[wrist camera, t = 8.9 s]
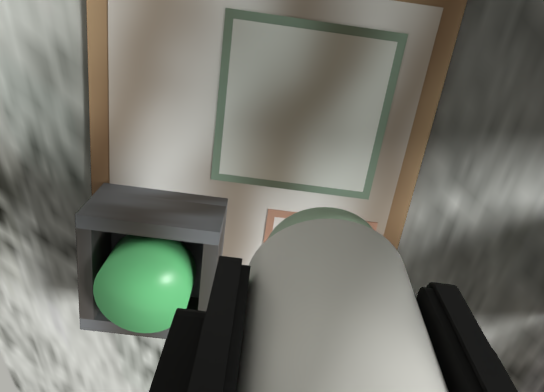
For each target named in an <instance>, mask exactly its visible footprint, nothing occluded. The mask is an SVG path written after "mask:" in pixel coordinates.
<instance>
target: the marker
mask: <svg viewBox="0 0 544 392" xmlns="http://www.w3.org/2000/svg"><path fill="white" fill-rule="evenodd" d="M249 266H251V268H250V276H249V285H248V293H247V302H246V310H245V319H244V327H243V336H242V345H241V353H240V362H239V370H238V379H237V387H236V392H449V391H448V389H447V386H446V383H445V380H444V377H443V374H442V371H441V368H440V366H439V363H438V360H437V357H436V354H435V351H434V348H433V346H432V343H431V340H430V337H429V334H428V331H427V328H426V325H425V323H424V320H423V317H422V314H421V311H420V308H419V305H418V303H417V300H416V297H415V294H414V291H413V288H412V285H411V282H410V280H409V277H408V274H407V271H406V268H405V265H404V263H403V260H402V258H401V256H400V254H399V253H398V251H397V250H396V248H395V247H394V246H393V245H392V244H391V242H390V241H389V240H387V239H386V238H385V237H384V236H383V235H381V234H380V233H378V232H377V231H375V230H374V229H373V228H372V227H371V226H370V225H369V224H368V223H367V222H366V221H365V220H364V219H362V218H361V217H359V216H357V215H356V214H354V213H351V212H349V211H346V210H343V209H338V208H332V207H316V208H310V209H306V210H302V211H299V212H297V213H294V214H292V215H291V216H289V217H287V218H286V219H284V220H283V221H281V222H280V223H279V224H278V225H277V226H276V227H275V228H274V230H273V231H272V232H271V234H270V235H269V237H268V239H267V240H266V241H265V242H264V243H263V244H262V245H261V246H260V247H259V249H258V250H257V251H256V252H255V254H254V256H253V257H252V259H251V261H250V263H249Z"/></svg>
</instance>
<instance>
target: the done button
mask: <svg viewBox="0 0 544 392" xmlns="http://www.w3.org/2000/svg"><path fill="white" fill-rule="evenodd" d="M195 277H196V263H195V260H194V257H193V255H192V253H191V252H190V250H189V249H188V248H187V246H186V245H185V244H184V243H182V242H181V241H177V240H169V239H161V238H152V237H144V236H136V235H126V236H125V237H123V238H122V239H121V240H120V241H119V242H118V243H117V244H116V245H115V247H114V249H113V250H112V252H111V253H110V255H109V256H108V258H107V260H106V261H105V263H104V264H103V266H102V267H101V269H100V271H99V272H98V274H97V275H96V278H95V280H94V285H93V294H94V298H95V302H96V304H97V306H98V308H99V309H100V311H101V312H102V313H103V315H104V316H105V317H106V318H107V319H109V320H110V321H111V322H112V323H114V324H115V325H117V326H119V327H121V328H123V329H126V330H129V331H132V332H137V333H155V332H160V331H163V330H166V329H168V328H170V326H171V323H172V320H173V317H174V314H175V312H176V309H177V308H183V309H186V308H187V305H188V301H189V298H190V295H191V291H192V288H193V284H194V281H195Z"/></svg>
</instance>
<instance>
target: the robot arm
mask: <svg viewBox="0 0 544 392" xmlns="http://www.w3.org/2000/svg"><path fill="white" fill-rule="evenodd" d="M250 268H251V266H249V265H242V258H235V257H227V256H219V259H218V264H217V268H216V272H215V276H214V281H213V285H212V289H211V293H210V298H209V302H208V306H207V310H206V311H199V310H191V309H183V308H177V309H176V312H175V314H174V317H173V320H172V323H171V326H170V329H169V332H168V335H167V339H166V342H165V345H164V348H163V351H162V354H161V357H160V360H159V363H158V366H157V369H156V372H155V375H154V378H153V381H152V384H151V387H150V390H149V392H236V387H237V379H238V370H239V362H240V353H241V345H242V336H243V327H244V319H245V310H246V302H247V293H248V285H249V276H250ZM416 300H417V303H418V305H419V308H420V311H421V314H422V317H423V320H424V323H425V325H426V328H427V331H428V334H429V337H430V340H431V343H432V346H433V348H434V351H435V354H436V357H437V360H438V363H439V366H440V368H441V371H442V374H443V377H444V380H445V383H446V386H447V389H448V391H449V392H518V391H517V389H516V388H515V386H514V384H513V382H512V381H511V379H510V377H509V375H508V374H507V372H506V370H505V368H504V367H503V365H502V363H501V361H500V360H499V358H498V356H497V354H496V353H495V351H494V350H493V349H492V348H491V346H490V344H489V342H488V341H487V339H486V337H485V335H484V334H483V332H482V330H481V328H480V327H479V325H478V323H477V321H476V319H475V318H474V316H473V314H472V312H471V311H470V309H469V307H468V305H467V303H466V302H465V300H464V298H463V296H462V295H461V293H460V291H459V289H458V288H457V287H456V286H455V285H449V284H442V283H434V282H431V283H429V284H428V285H427V287H426V288H424V287H422V288H420V290H419V292H418V295H417V298H416Z"/></svg>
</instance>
